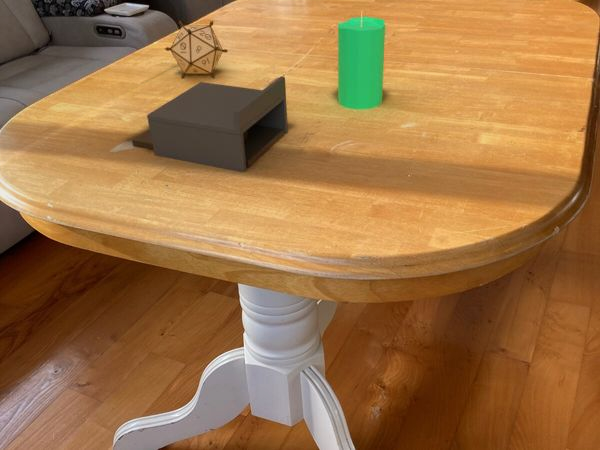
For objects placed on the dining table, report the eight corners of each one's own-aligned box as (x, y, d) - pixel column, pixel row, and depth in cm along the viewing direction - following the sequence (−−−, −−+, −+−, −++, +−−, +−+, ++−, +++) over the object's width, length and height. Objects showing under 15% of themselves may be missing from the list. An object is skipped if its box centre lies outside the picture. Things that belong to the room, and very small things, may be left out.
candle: (371, 90, 83) (374, 2, 76) (389, 105, 78) (394, 13, 71) (331, 97, 81) (331, 8, 75) (347, 112, 77) (348, 19, 70)
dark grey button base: (132, 146, 71) (128, 127, 69) (175, 118, 77) (172, 100, 76) (249, 168, 65) (247, 148, 63) (284, 136, 71) (283, 116, 70)
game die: (213, 94, 94) (244, 39, 92) (198, 94, 86) (232, 33, 84) (166, 64, 94) (195, 8, 92) (146, 61, 86) (178, -1, 83)
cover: (154, 155, 68) (143, 98, 64) (205, 119, 77) (198, 66, 73) (244, 173, 64) (238, 112, 60) (288, 132, 72) (285, 76, 68)
